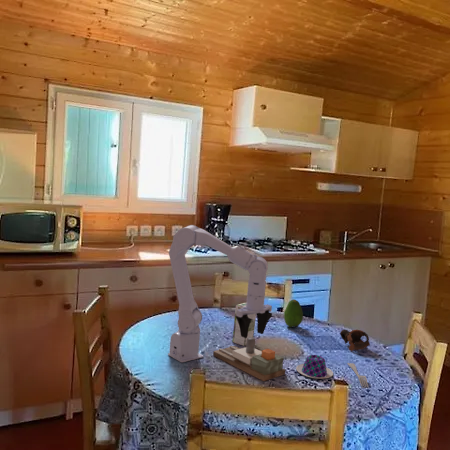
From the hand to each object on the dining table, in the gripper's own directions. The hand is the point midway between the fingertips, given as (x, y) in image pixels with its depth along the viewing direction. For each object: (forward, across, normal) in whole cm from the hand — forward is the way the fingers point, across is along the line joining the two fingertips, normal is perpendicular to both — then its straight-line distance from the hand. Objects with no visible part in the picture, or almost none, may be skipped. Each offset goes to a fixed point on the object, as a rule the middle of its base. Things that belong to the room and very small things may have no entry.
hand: (252, 335), depth 161 cm
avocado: (+11, +45, +20) cm, 50 cm away
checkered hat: (+11, +15, -15) cm, 24 cm away
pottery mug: (+11, +48, -9) cm, 50 cm away
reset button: (+6, 0, -8) cm, 10 cm away
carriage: (+8, 0, 0) cm, 8 cm away
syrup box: (+11, +13, +17) cm, 24 cm away
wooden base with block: (+10, 0, +1) cm, 10 cm away
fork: (+11, +26, -24) cm, 37 cm away
